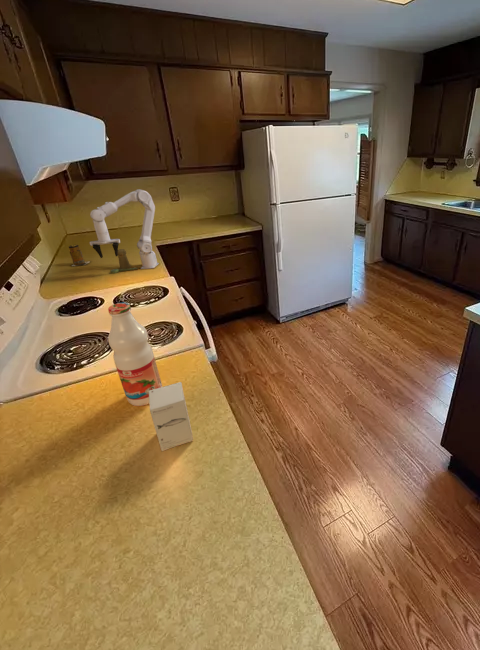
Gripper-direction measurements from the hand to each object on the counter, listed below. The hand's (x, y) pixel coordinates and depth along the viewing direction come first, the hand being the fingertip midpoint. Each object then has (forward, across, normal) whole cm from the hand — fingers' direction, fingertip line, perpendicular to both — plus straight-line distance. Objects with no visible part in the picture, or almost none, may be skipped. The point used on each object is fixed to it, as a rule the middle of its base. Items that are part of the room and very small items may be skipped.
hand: (109, 256), depth 183 cm
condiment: (+11, -25, +31) cm, 41 cm away
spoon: (+10, +4, +4) cm, 12 cm away
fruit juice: (+11, +30, -118) cm, 122 cm away
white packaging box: (+11, +39, -136) cm, 142 cm away
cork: (+11, +4, +12) cm, 16 cm away
